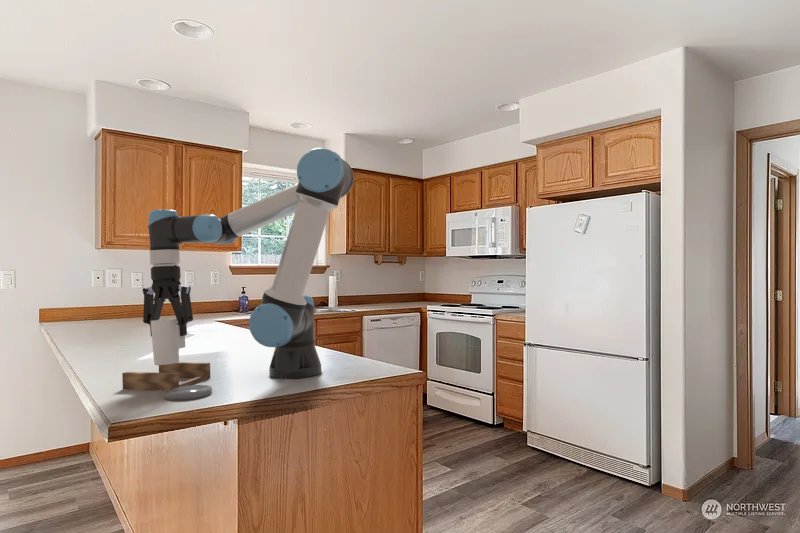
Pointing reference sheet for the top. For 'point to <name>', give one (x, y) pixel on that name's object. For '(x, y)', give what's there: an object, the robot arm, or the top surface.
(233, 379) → the top surface
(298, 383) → the top surface
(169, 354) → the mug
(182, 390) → the disc
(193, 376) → the rack
